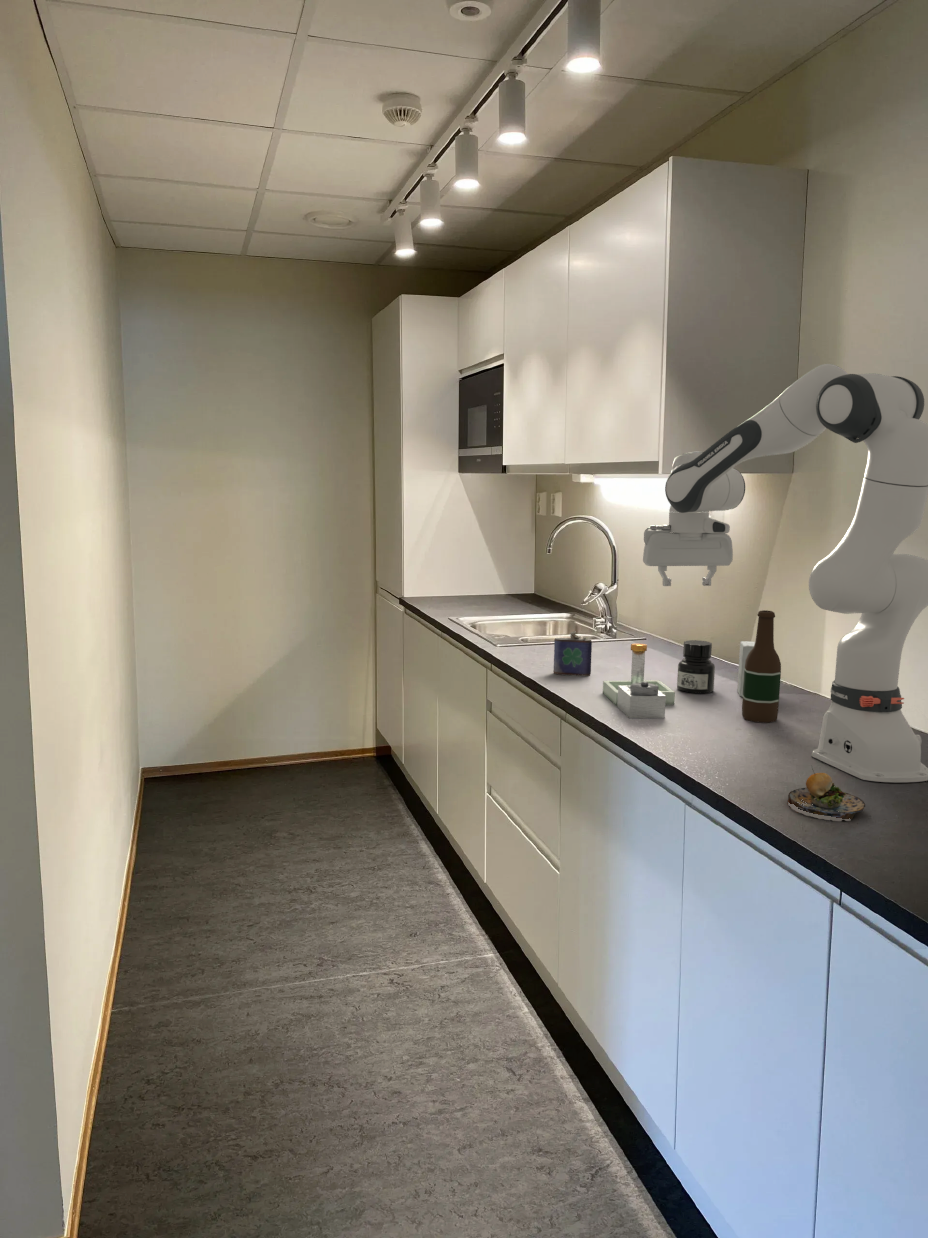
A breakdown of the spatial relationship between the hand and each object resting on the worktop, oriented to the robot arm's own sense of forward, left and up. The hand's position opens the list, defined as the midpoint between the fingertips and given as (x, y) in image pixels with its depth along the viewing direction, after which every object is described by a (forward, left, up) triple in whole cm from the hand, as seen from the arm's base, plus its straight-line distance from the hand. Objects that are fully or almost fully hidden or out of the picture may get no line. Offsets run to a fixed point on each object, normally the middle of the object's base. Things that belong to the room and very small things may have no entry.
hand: (686, 585), depth 213 cm
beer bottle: (-14, -13, -28) cm, 34 cm away
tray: (+5, +9, -28) cm, 30 cm away
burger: (-68, -1, -28) cm, 73 cm away
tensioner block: (-7, +12, -28) cm, 31 cm away
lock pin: (+7, +9, -27) cm, 29 cm away
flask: (+32, +19, -28) cm, 47 cm away
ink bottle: (+13, -8, -28) cm, 32 cm away
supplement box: (+8, -21, -28) cm, 36 cm away
